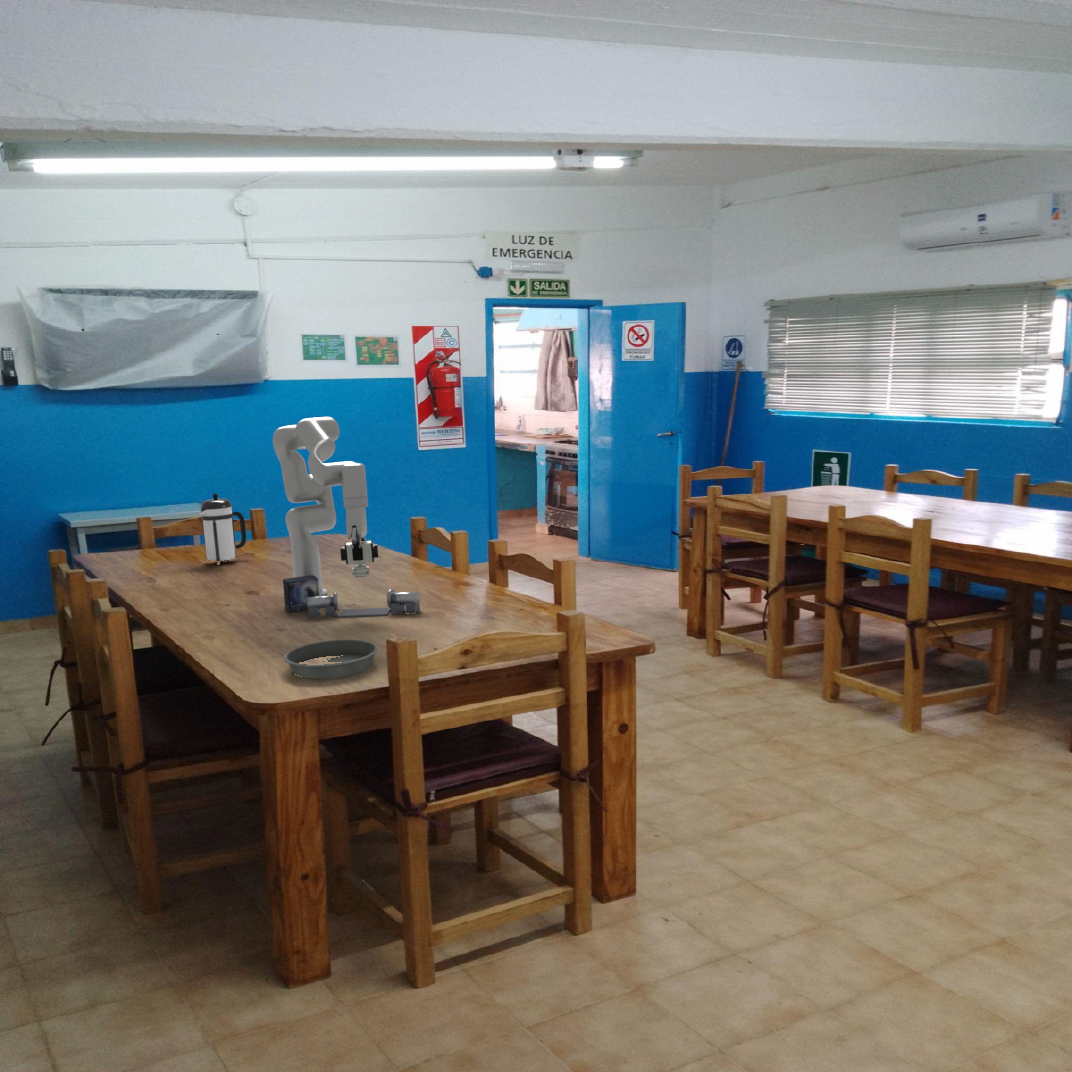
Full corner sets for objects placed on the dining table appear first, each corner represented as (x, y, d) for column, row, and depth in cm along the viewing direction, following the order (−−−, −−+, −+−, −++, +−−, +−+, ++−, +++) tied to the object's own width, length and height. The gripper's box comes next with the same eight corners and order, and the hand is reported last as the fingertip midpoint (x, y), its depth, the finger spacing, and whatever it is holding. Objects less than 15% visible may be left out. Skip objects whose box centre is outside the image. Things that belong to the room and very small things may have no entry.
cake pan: (268, 681, 264) (267, 664, 264) (308, 654, 288) (307, 638, 287) (359, 682, 259) (357, 665, 258) (392, 655, 283) (391, 639, 282)
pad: (337, 617, 329) (337, 616, 329) (343, 611, 338) (343, 609, 337) (386, 615, 328) (386, 613, 328) (391, 609, 337) (391, 607, 337)
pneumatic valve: (380, 576, 329) (376, 539, 327) (342, 579, 327) (339, 542, 325) (379, 572, 335) (376, 536, 333) (343, 576, 333) (339, 539, 331)
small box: (289, 613, 339) (286, 581, 338) (284, 609, 345) (281, 578, 343) (321, 608, 344) (318, 577, 342) (315, 604, 350) (313, 574, 348)
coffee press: (236, 565, 432) (229, 494, 427) (199, 567, 433) (191, 496, 428) (248, 557, 449) (242, 489, 444) (212, 559, 450) (205, 491, 445)
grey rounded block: (388, 614, 330) (386, 591, 328) (394, 610, 335) (392, 587, 334) (416, 614, 328) (414, 591, 327) (421, 609, 334) (420, 587, 332)
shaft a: (308, 619, 329) (306, 596, 328) (309, 614, 335) (307, 592, 334) (338, 616, 330) (336, 593, 329) (338, 612, 336) (336, 589, 335)
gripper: (349, 499, 336) (353, 554, 339) (338, 506, 319) (342, 564, 322) (372, 498, 335) (376, 553, 338) (362, 505, 318) (366, 563, 321)
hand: (360, 557), depth 330 cm, fingers closed on pneumatic valve, 5 cm apart
